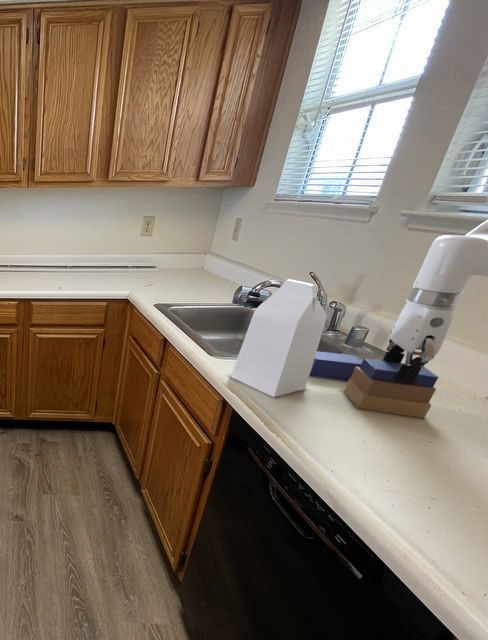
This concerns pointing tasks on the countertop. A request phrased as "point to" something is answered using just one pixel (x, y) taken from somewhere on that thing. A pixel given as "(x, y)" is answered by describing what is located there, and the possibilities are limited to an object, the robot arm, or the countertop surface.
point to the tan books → (388, 395)
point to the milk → (282, 340)
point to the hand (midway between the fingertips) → (395, 374)
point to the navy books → (334, 365)
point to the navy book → (395, 372)
